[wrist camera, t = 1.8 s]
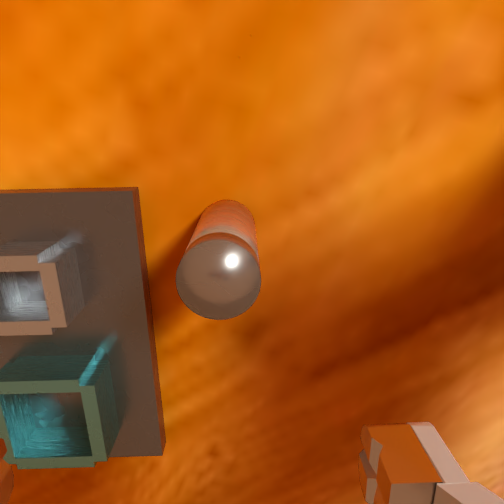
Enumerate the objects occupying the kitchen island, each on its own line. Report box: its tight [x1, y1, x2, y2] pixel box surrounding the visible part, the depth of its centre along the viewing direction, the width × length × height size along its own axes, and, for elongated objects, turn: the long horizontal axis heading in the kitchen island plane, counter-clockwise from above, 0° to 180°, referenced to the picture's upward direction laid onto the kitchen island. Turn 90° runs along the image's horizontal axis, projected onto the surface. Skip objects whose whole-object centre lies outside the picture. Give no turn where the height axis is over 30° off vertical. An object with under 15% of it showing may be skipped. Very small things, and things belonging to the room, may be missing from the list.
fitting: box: [176, 200, 261, 320], centre depth 23 cm, size 4×4×10 cm
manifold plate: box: [0, 187, 166, 469], centre depth 28 cm, size 14×22×4 cm, turn 1°
